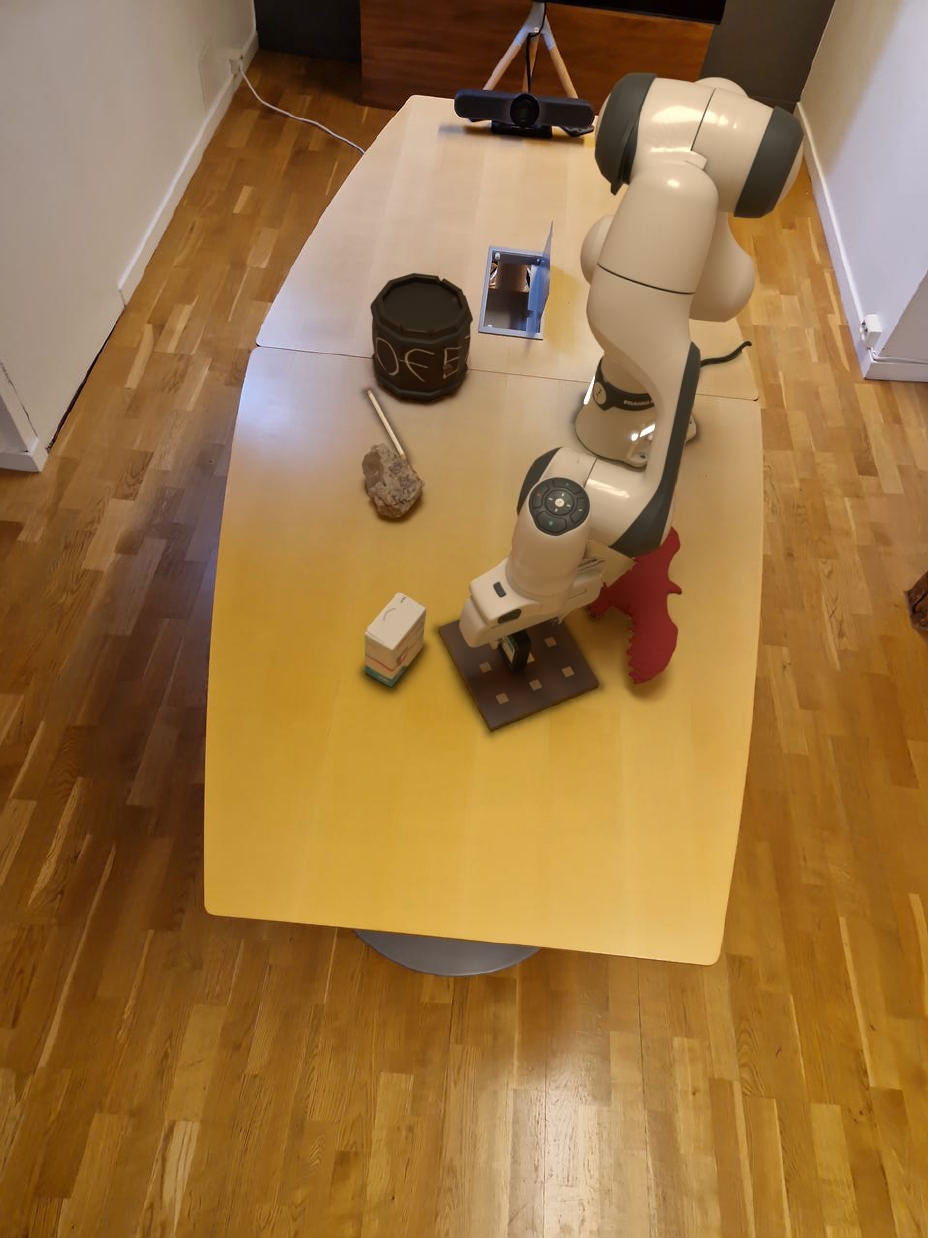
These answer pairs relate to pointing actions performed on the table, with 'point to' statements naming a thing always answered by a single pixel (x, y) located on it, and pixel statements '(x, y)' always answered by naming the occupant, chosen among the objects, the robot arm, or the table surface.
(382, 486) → the rock
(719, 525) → the table surface
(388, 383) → the wooden barrel
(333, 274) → the table surface
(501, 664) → the board
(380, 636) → the ink box
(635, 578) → the decorative bird sculpture
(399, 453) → the pencil
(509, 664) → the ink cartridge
